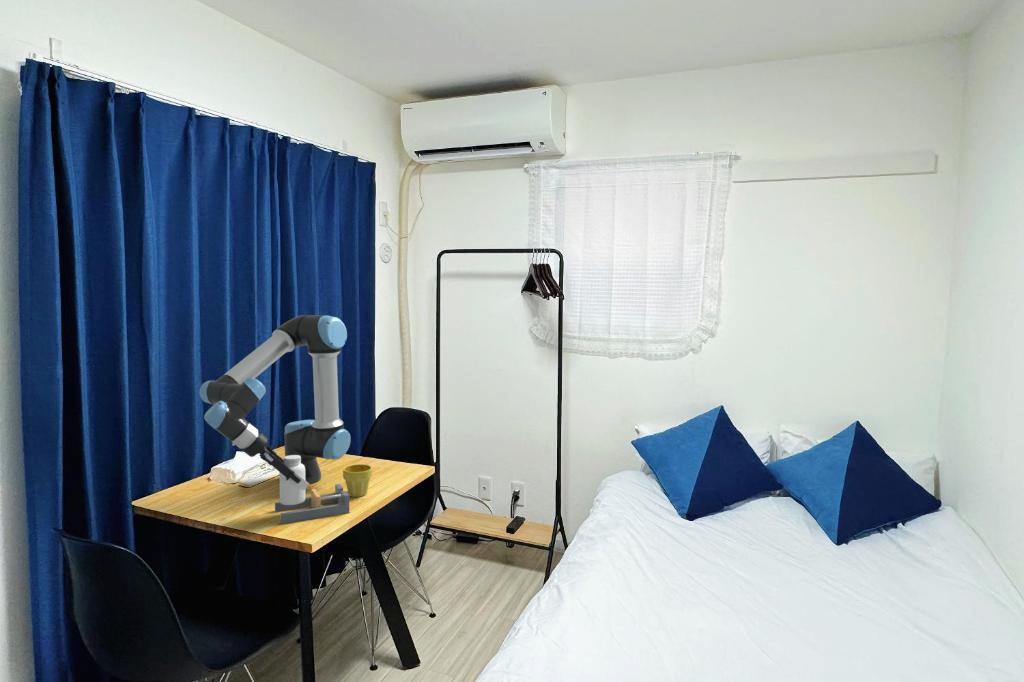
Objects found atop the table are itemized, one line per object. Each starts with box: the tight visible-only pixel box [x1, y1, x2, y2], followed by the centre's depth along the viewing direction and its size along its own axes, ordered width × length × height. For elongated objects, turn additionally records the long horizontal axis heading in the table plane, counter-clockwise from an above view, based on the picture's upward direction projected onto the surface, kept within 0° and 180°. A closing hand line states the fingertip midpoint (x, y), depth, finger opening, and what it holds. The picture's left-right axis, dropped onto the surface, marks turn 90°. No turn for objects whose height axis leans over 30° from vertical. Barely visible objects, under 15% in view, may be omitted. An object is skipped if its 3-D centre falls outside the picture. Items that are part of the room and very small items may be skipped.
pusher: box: [310, 488, 341, 508], centre depth 200 cm, size 10×9×6 cm
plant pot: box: [342, 463, 373, 498], centre depth 215 cm, size 10×10×10 cm
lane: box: [274, 483, 350, 525], centre depth 197 cm, size 22×13×6 cm, turn 120°
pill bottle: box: [278, 455, 307, 505], centre depth 193 cm, size 8×8×15 cm
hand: (303, 483), depth 195 cm, fingers closed on pill bottle, 8 cm apart
